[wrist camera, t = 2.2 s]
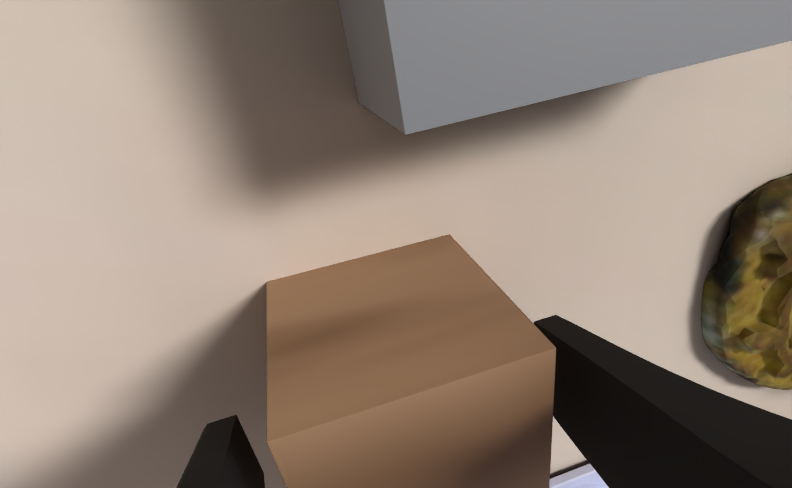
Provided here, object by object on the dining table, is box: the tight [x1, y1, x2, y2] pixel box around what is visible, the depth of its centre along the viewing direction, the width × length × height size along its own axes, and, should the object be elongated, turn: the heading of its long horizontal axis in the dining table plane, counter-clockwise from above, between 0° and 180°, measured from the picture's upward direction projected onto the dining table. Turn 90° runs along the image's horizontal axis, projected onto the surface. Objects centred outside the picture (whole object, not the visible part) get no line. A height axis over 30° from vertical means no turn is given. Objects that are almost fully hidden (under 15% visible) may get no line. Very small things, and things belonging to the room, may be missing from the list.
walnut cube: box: [267, 234, 556, 488], centre depth 10 cm, size 5×5×5 cm
